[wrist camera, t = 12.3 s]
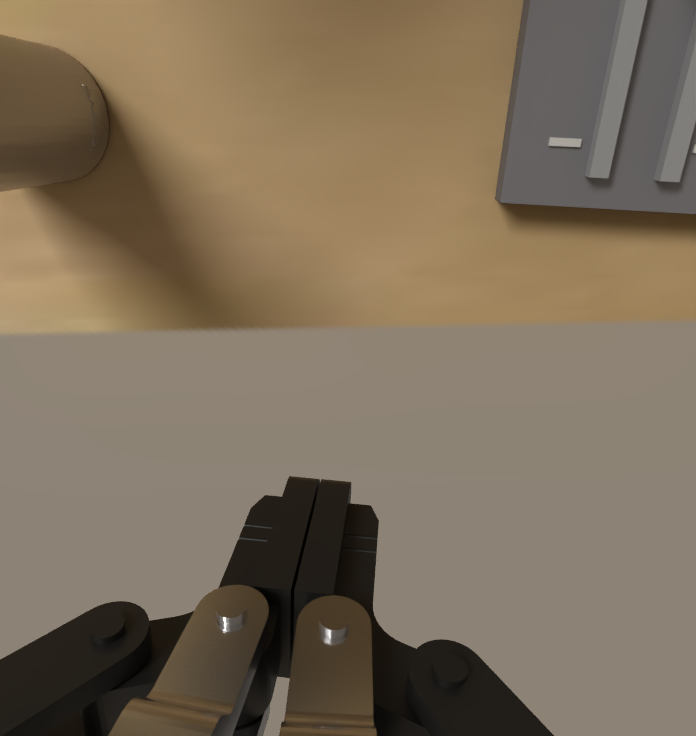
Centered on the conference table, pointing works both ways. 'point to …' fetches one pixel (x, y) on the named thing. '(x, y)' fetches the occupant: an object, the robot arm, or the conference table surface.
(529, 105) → the grey slider track board
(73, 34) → the conference table surface
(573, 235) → the conference table surface
